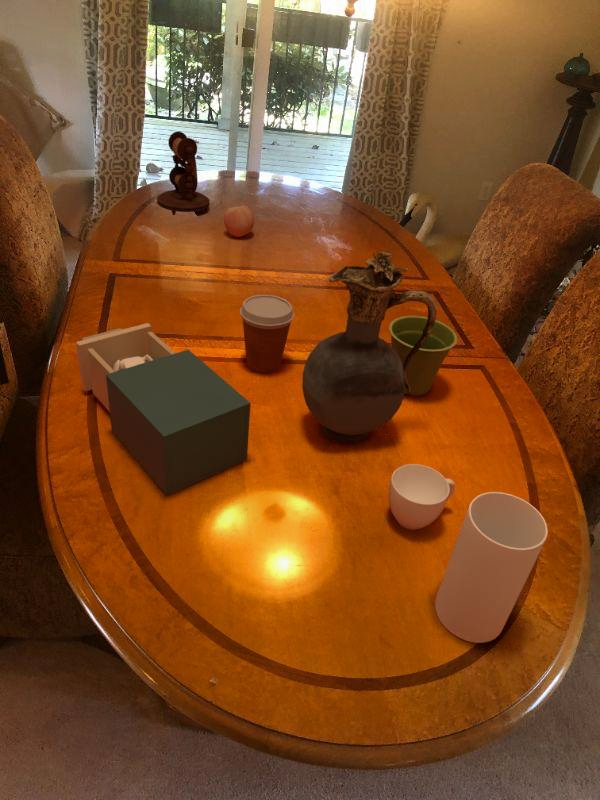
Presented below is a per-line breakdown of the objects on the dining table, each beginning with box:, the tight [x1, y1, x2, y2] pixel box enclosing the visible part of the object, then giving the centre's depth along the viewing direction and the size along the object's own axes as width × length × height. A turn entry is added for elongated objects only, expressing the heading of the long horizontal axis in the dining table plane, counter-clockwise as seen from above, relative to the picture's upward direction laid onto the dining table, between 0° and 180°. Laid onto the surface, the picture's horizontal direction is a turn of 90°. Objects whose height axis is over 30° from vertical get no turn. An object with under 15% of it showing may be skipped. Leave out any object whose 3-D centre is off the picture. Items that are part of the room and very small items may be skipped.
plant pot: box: [388, 315, 458, 396], centre depth 110 cm, size 12×12×11 cm
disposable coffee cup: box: [239, 294, 295, 374], centre depth 111 cm, size 10×10×12 cm
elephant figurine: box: [113, 355, 153, 372], centre depth 98 cm, size 7×8×6 cm
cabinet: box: [106, 349, 251, 497], centre depth 90 cm, size 17×14×11 cm
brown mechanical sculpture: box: [156, 131, 211, 216], centre depth 171 cm, size 15×15×20 cm
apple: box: [223, 204, 255, 238], centre depth 162 cm, size 8×8×8 cm
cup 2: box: [434, 491, 549, 644], centre depth 69 cm, size 8×8×16 cm
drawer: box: [75, 322, 176, 413], centre depth 99 cm, size 21×12×9 cm, turn 39°
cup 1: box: [388, 463, 456, 531], centre depth 84 cm, size 8×10×7 cm
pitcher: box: [301, 251, 438, 444], centre depth 92 cm, size 11×19×30 cm, turn 104°
